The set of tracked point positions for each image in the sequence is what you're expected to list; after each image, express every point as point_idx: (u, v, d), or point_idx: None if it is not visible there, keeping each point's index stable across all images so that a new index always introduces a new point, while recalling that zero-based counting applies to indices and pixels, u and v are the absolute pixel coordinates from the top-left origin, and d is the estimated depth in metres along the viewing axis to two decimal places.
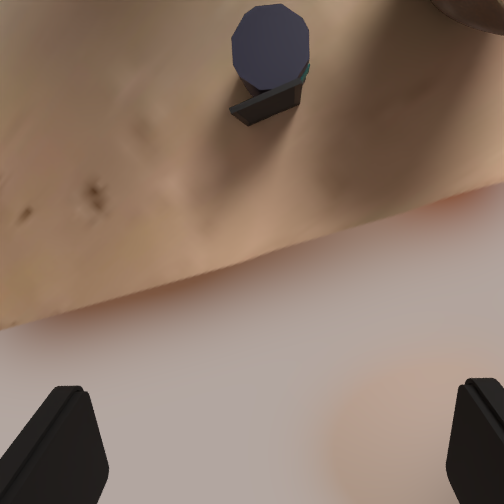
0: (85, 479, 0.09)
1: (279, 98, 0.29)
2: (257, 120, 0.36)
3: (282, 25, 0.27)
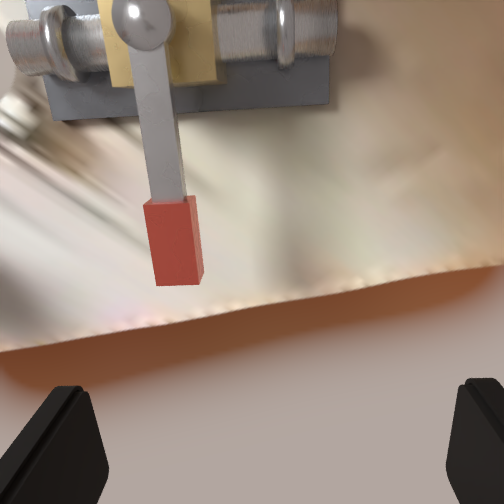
0: (85, 479, 0.09)
1: None
2: None
3: None
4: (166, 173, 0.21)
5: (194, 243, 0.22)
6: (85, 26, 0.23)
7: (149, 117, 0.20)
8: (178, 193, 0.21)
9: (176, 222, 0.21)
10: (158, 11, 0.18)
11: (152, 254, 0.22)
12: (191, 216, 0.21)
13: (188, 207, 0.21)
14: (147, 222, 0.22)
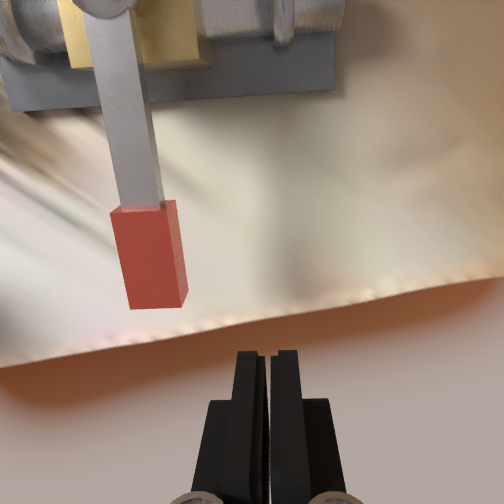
0: (267, 435, 0.10)
1: None
2: None
3: None
4: (137, 173, 0.17)
5: (174, 258, 0.18)
6: None
7: (114, 104, 0.16)
8: (153, 198, 0.17)
9: (151, 233, 0.18)
10: None
11: (123, 272, 0.18)
12: (169, 226, 0.17)
13: (165, 215, 0.17)
14: (116, 234, 0.18)
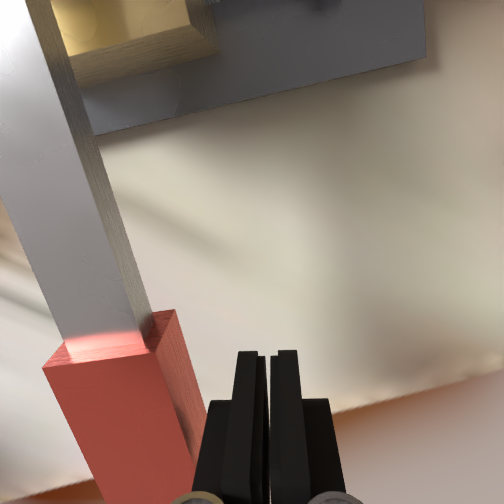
0: (268, 436, 0.10)
1: None
2: None
3: None
4: (86, 283, 0.08)
5: (184, 433, 0.09)
6: None
7: (9, 148, 0.07)
8: (127, 326, 0.08)
9: (131, 397, 0.09)
10: None
11: (91, 464, 0.09)
12: (166, 378, 0.08)
13: (155, 362, 0.08)
14: (62, 403, 0.09)
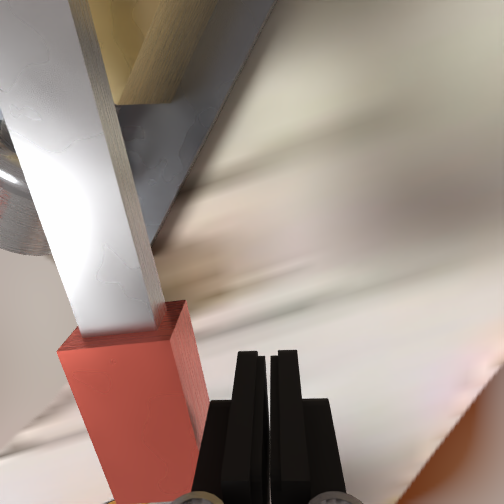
0: (267, 435, 0.10)
1: None
2: None
3: None
4: (105, 271, 0.08)
5: (192, 420, 0.09)
6: None
7: (38, 134, 0.07)
8: (142, 314, 0.09)
9: (143, 382, 0.09)
10: None
11: (97, 448, 0.10)
12: (178, 367, 0.09)
13: (168, 350, 0.08)
14: (74, 387, 0.09)
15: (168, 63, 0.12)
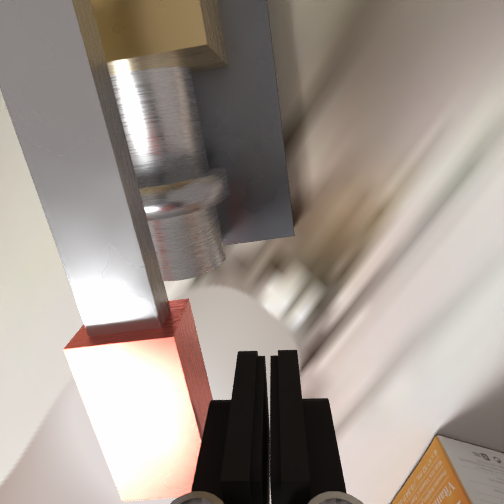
0: (267, 435, 0.10)
1: None
2: None
3: None
4: (110, 270, 0.08)
5: (196, 416, 0.10)
6: None
7: (46, 138, 0.07)
8: (146, 312, 0.09)
9: (148, 379, 0.09)
10: None
11: (103, 445, 0.10)
12: (182, 363, 0.09)
13: (173, 347, 0.09)
14: (80, 384, 0.09)
15: (212, 8, 0.11)
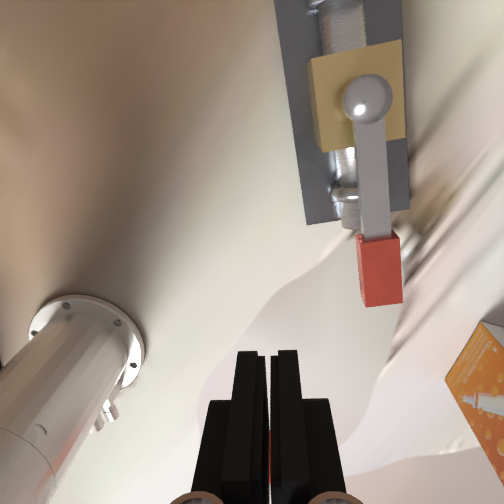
0: (267, 436, 0.10)
1: None
2: None
3: None
4: (378, 216, 0.26)
5: (400, 269, 0.27)
6: (348, 169, 0.30)
7: (367, 174, 0.25)
8: (387, 231, 0.26)
9: (387, 254, 0.26)
10: (383, 94, 0.23)
11: (364, 282, 0.27)
12: (399, 248, 0.26)
13: (398, 241, 0.26)
14: (362, 257, 0.26)
15: None
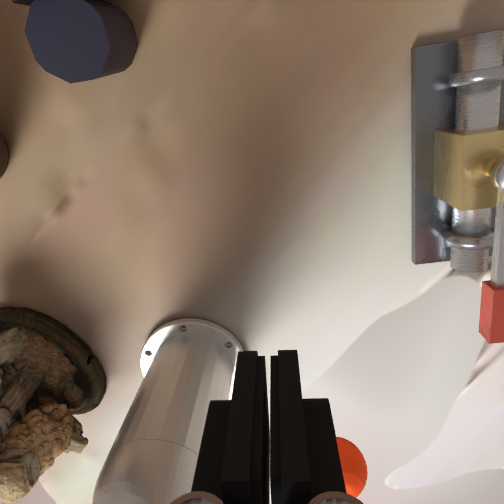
0: (267, 436, 0.10)
1: None
2: None
3: (63, 63, 0.27)
4: None
5: None
6: (470, 222, 0.34)
7: None
8: None
9: None
10: None
11: (492, 322, 0.32)
12: None
13: None
14: (494, 302, 0.31)
15: None
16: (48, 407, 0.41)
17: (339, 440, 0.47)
